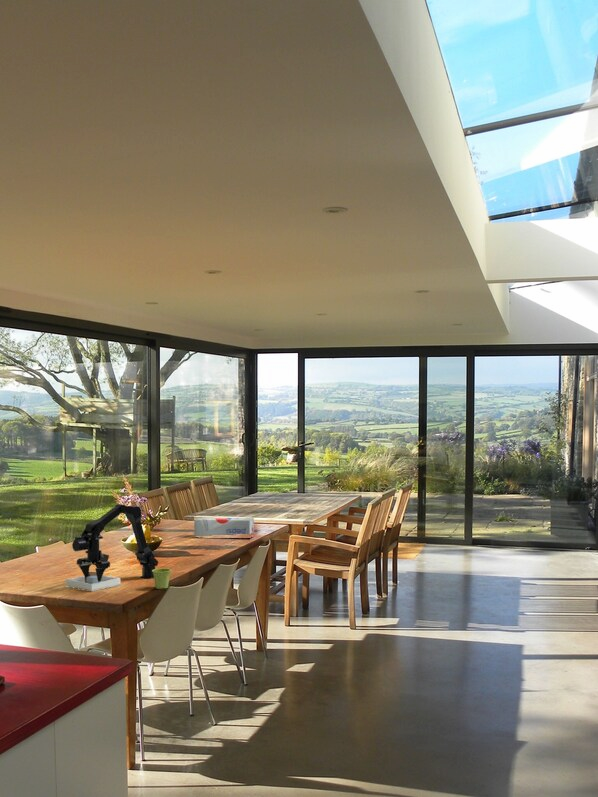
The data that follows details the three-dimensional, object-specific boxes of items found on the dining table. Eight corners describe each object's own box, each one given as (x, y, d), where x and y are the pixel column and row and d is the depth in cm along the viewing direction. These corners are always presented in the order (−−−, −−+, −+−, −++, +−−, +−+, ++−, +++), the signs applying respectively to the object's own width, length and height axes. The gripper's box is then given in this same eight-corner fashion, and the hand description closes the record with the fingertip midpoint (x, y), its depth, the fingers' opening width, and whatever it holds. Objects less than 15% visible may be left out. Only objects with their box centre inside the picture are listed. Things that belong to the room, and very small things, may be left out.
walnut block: (97, 582, 394) (97, 572, 394) (90, 584, 390) (90, 574, 390) (91, 581, 396) (91, 571, 396) (84, 582, 393) (84, 572, 393)
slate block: (99, 586, 383) (99, 576, 384) (92, 588, 380) (92, 578, 380) (94, 585, 386) (94, 575, 386) (86, 587, 383) (86, 577, 383)
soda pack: (254, 537, 548) (254, 517, 549) (250, 540, 536) (250, 519, 536) (199, 535, 556) (199, 516, 556) (193, 538, 543) (193, 518, 543)
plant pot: (148, 589, 382) (148, 571, 382) (158, 585, 391) (158, 567, 391) (164, 590, 379) (164, 572, 379) (174, 586, 387) (174, 569, 388)
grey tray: (120, 585, 391) (120, 578, 391) (91, 591, 376) (91, 584, 376) (94, 580, 402) (94, 573, 402) (65, 586, 388) (65, 579, 388)
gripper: (118, 548, 385) (118, 579, 384) (93, 544, 396) (93, 575, 395) (100, 551, 376) (100, 583, 375) (76, 547, 386) (75, 579, 386)
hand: (93, 580), depth 383 cm, fingers open, 9 cm apart
